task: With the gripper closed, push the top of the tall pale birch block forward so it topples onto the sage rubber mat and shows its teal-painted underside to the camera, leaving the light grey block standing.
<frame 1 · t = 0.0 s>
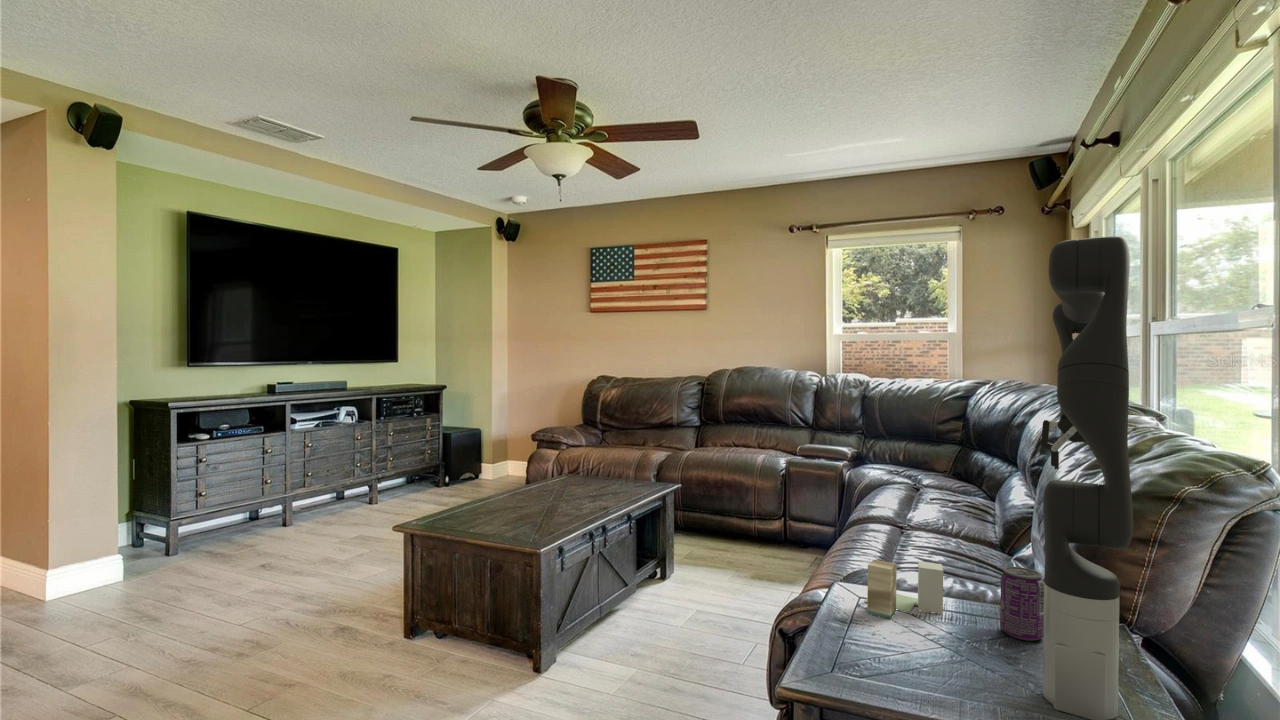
hand: (1081, 471, 129), 29 cm above the table, fingers open, 8 cm apart
grey block: (930, 608, 128), on the table
beverage can: (1021, 636, 116), on the table
mat: (891, 601, 132), on the table
birch block: (881, 613, 125), on the table
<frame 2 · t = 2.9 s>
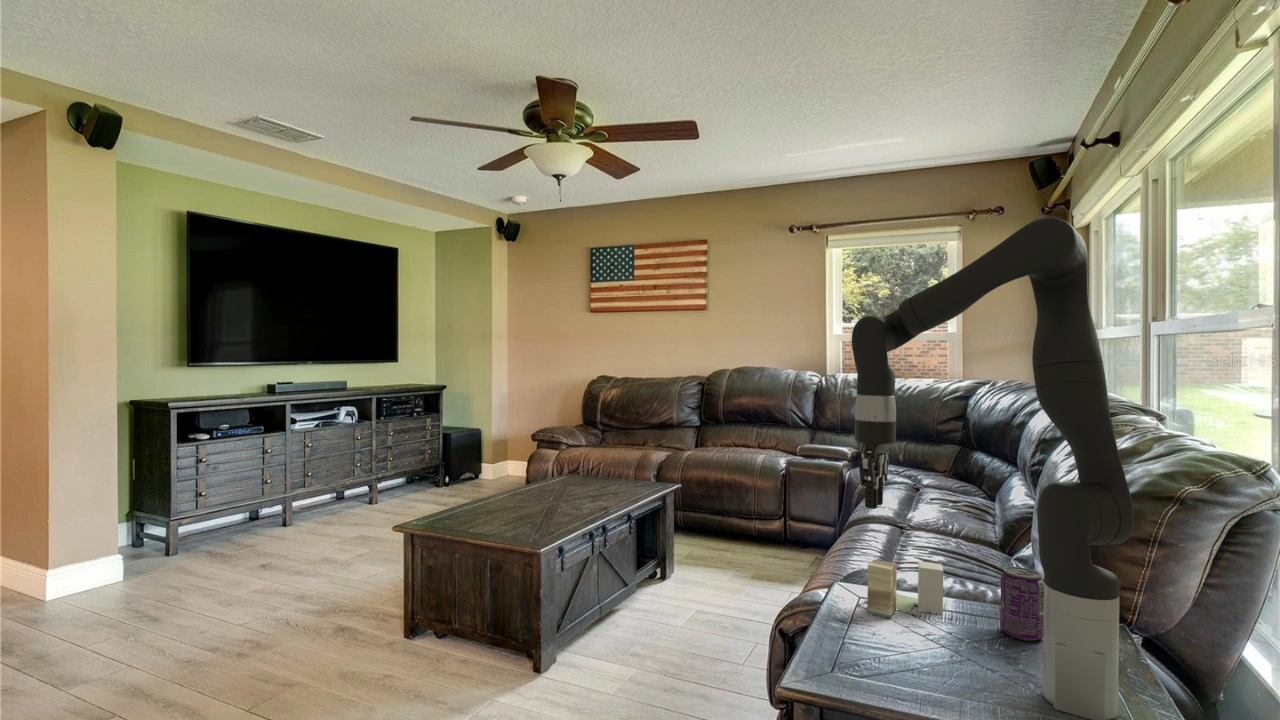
hand: (873, 505, 120), 23 cm above the table, fingers open, 3 cm apart
nothing on the table moved.
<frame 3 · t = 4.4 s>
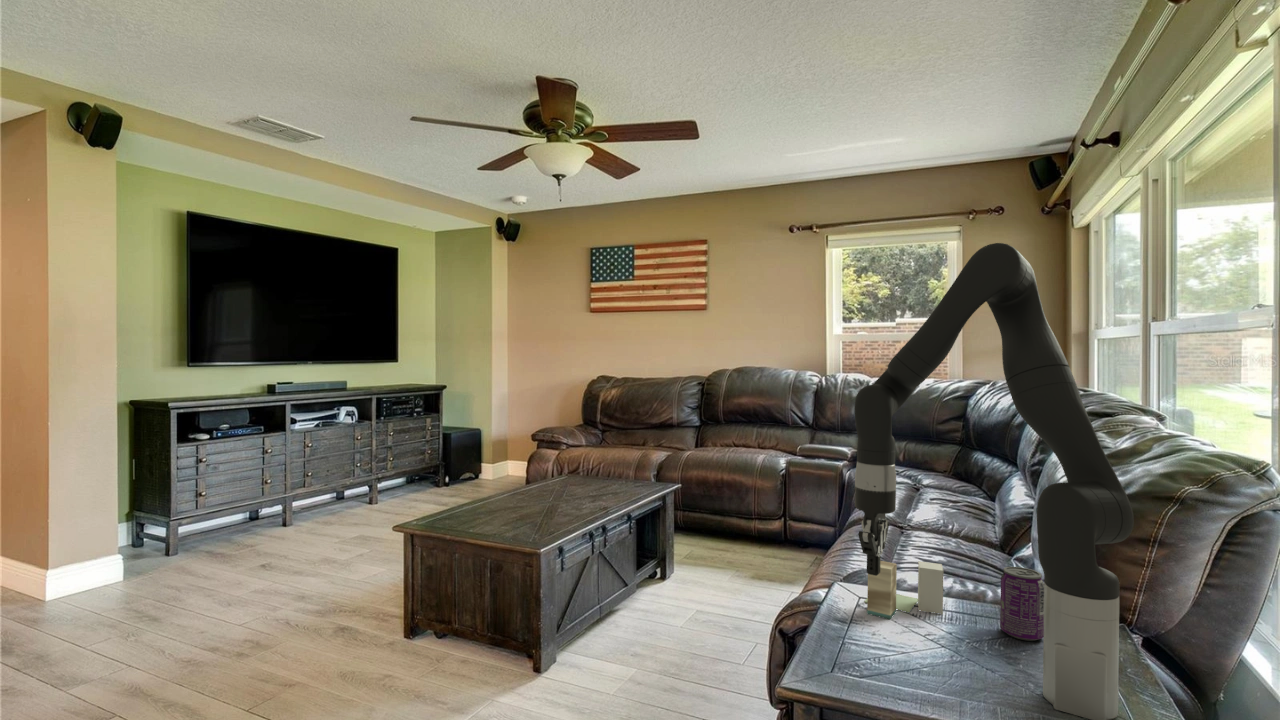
hand: (873, 573, 120), 10 cm above the table, fingers closed
nothing on the table moved.
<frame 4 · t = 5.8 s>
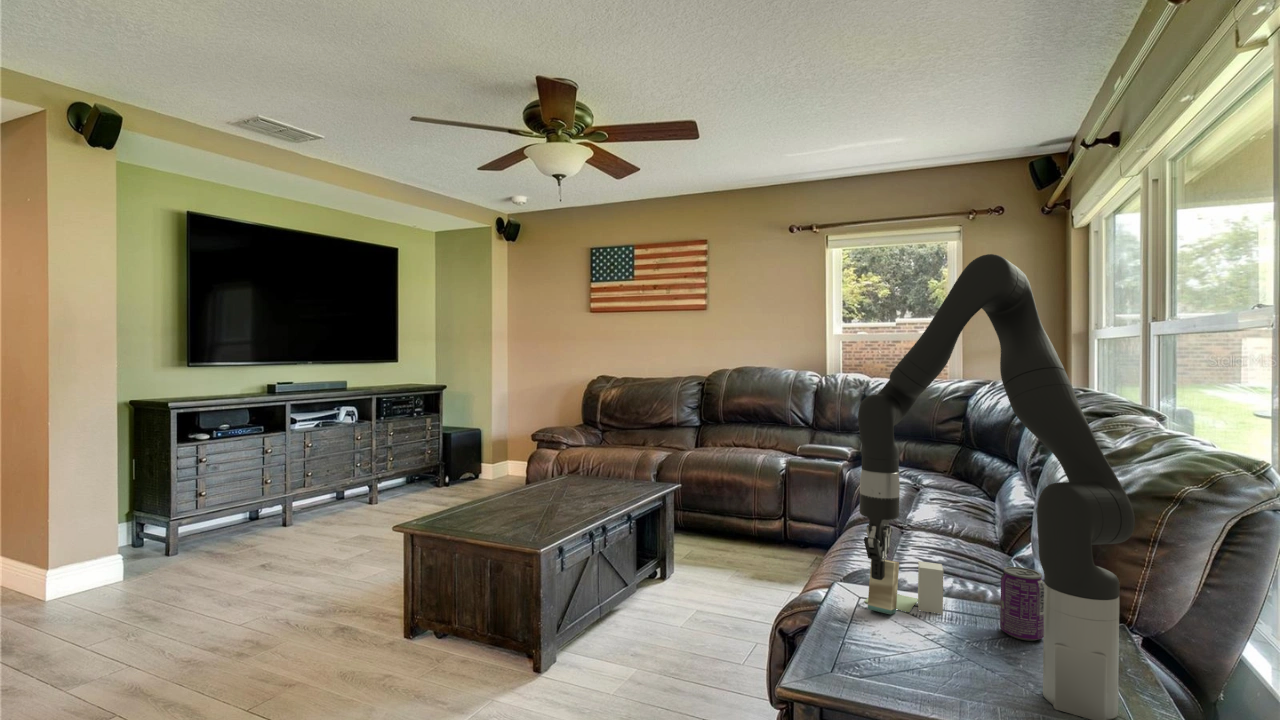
hand: (877, 578, 124), 8 cm above the table, fingers closed
birch block: (881, 610, 125), on the table, tilted 12°
everything else where it was.
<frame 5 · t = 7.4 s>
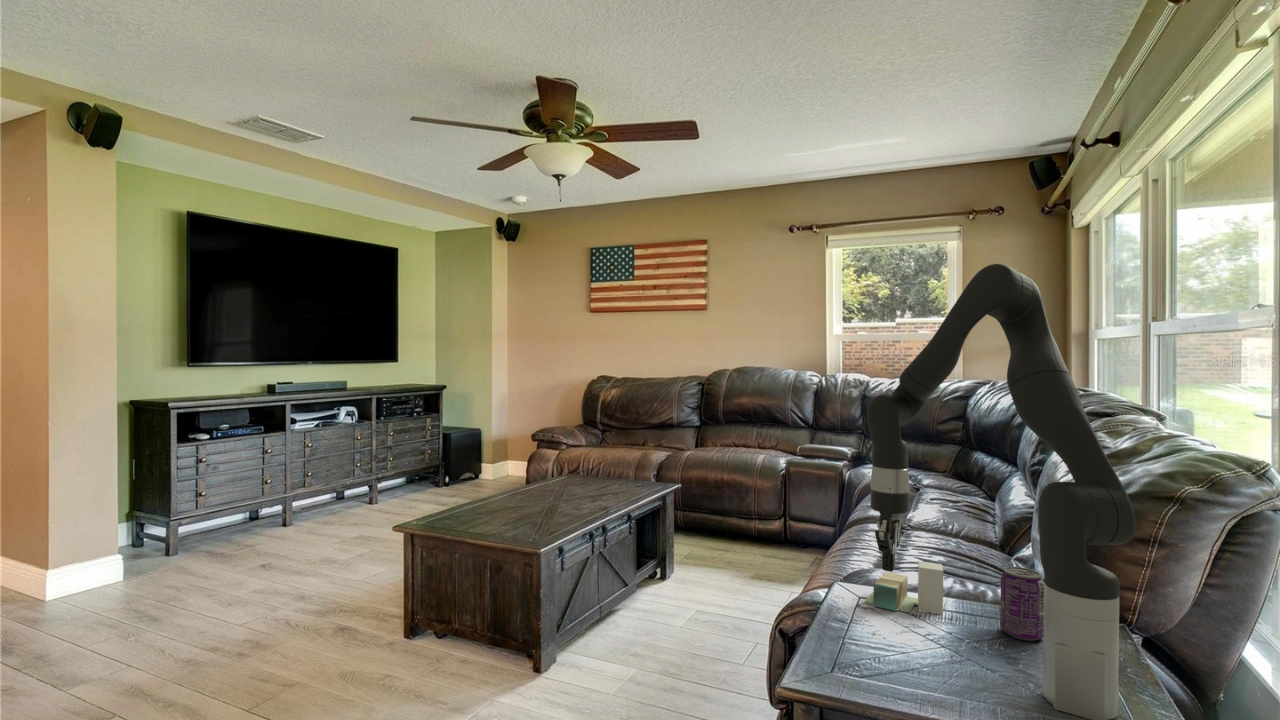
hand: (888, 570, 129), 8 cm above the table, fingers closed
birch block: (884, 597, 127), point 3 cm above the table, tilted 90°, touching mat
everything else where it was.
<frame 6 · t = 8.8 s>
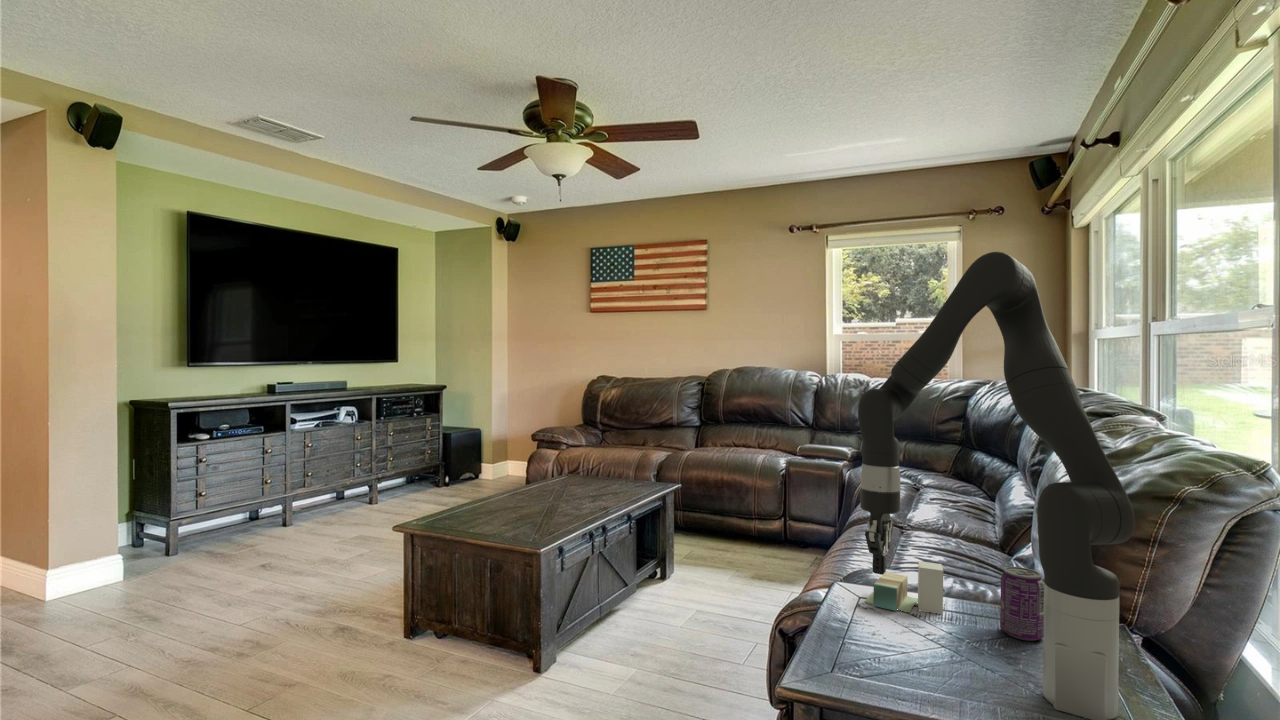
hand: (879, 572, 124), 9 cm above the table, fingers closed
nothing on the table moved.
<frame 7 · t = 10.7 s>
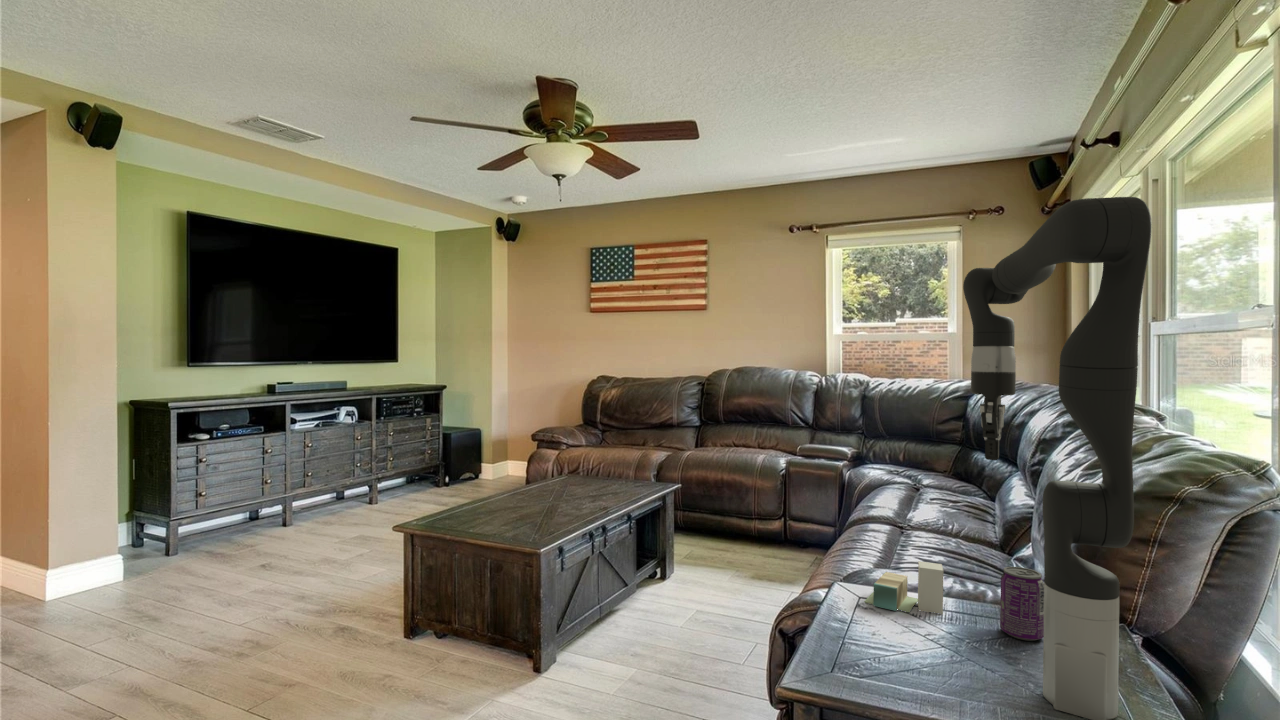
hand: (992, 459, 119), 33 cm above the table, fingers closed
nothing on the table moved.
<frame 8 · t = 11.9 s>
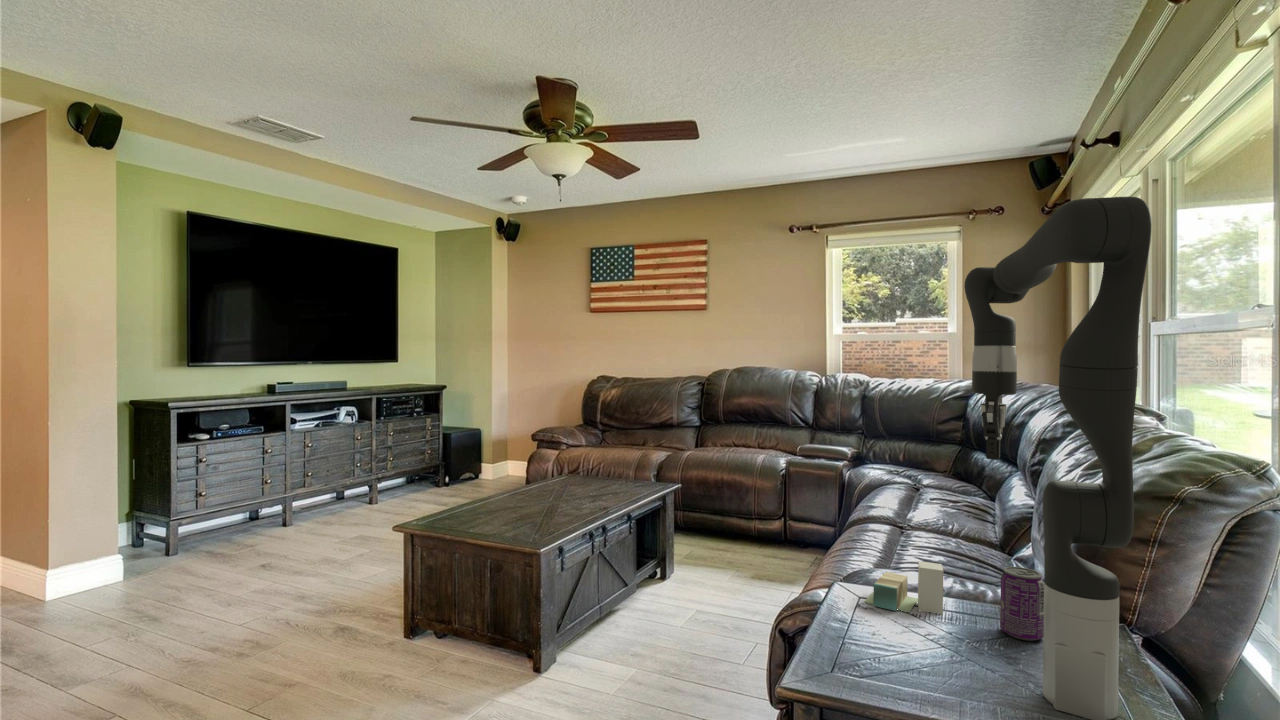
hand: (993, 458, 119), 33 cm above the table, fingers closed
nothing on the table moved.
at the end: birch block tilted 90°; birch block inside the target area (2.3 cm from its centre), point 2.5 cm above the table; grey block tilted 0° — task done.
